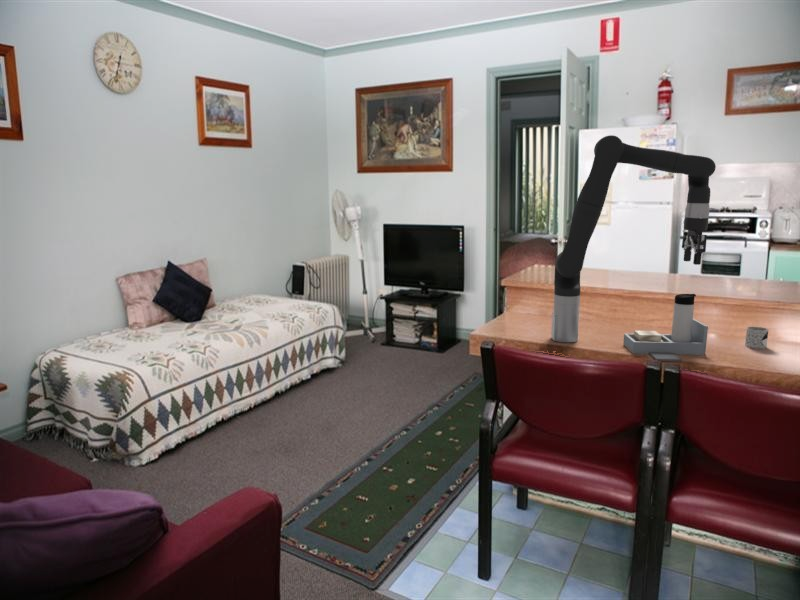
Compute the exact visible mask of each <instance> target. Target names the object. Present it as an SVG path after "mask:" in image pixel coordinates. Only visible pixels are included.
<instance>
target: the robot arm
mask: <svg viewBox="0 0 800 600" xmlns="http://www.w3.org/2000/svg"><path fill="white" fill-rule="evenodd" d="M593 152H594V158H593V162H592V166H591V169H590V172H589V174H588V176H587V179H586V180H585V182H584V185H583V187H582V188H581V190H580V193H579V195H578V197H577V199H576V202H575V206H574V209H573V211H572V216H571V222H570V227H569V233H568V238H567V240H566V243H565V245H564V247H563V250H562V251H561V252H560V253H558V255H557V256H556V258H555V261H554V283H553V285H554V295H553V296H554V297H553V312H552V315H551V336H550V337H551V340H553V342H559V343H576V342H577V341H579V323H580V303H581V302H580V301H581V272H582V270H583V267H584V262H585V257H586V253H587V249H588V247H589V243H590V240H591V238H592V236H593V234H594V232H595V229H596V226H597V224H598V223H599V222H598V221H599V220H600V217H601V213H602V211H603V208H604V206H605V201H606V199H607V195H608V192H609V191H608V190H609V188H610V183H611V180H612V177H613V174H614V172H615V169H616V167H617V165H618V164H629V165H634V166H639V167H643V168H649V169H652V170H657V171H661V172H665V173H672V174H683V175H687V187H688V190H687V191H688V192H687V198H686V199H687V200H686V206H685V210H684V211H685V212H684V218H683V219H684V221H683V230H685V231H683V235H682V241H681V248H682V249H683V251H684V252H683V261H684V262H691V259H692V250H693V252H694V254H693V262H692V263H693V265H696V266H697V265H699V266H700V265H701V264H702V254H704V253H706V249H707V237H708V236H707V234H703V232H706V231H707V230H708V228H709V227H708V225H709V220H710V200H711V188H710V186H709V183H710V177H711V176H712V175H713V174H715V171H716V167H717V166H716V162H715V161H714V160H713V159H712V158H710V157H707V156H702V155H695V154H685V153H681V152H677V151H672V150H668V149H667V150H666V149H661V148H651V147H643V146H642V147H641V146H635V145H631V144H628V143H625V142H624V141H622V139H621V138H619V137H618V136H617V135H614V134H609V135H606V136H603V137H601V138H600V139H599V140H598V141H597V142H596V143H595V145H594V148H593Z"/></svg>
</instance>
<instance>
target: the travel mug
mask: <svg viewBox="0 0 800 600" xmlns="http://www.w3.org/2000/svg"><path fill="white" fill-rule="evenodd" d="M695 297H697V295H696V294H695V293H681V294H676V295H675V296H674V304H673V313H672V314H673V315H672V326H671V334H672V336H671V341H672V342H691V333H692V322H693V319H694V311H695Z"/></svg>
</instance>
